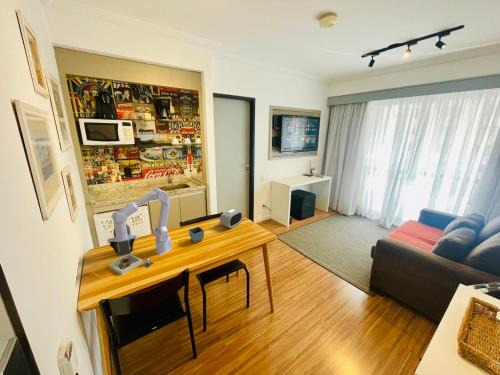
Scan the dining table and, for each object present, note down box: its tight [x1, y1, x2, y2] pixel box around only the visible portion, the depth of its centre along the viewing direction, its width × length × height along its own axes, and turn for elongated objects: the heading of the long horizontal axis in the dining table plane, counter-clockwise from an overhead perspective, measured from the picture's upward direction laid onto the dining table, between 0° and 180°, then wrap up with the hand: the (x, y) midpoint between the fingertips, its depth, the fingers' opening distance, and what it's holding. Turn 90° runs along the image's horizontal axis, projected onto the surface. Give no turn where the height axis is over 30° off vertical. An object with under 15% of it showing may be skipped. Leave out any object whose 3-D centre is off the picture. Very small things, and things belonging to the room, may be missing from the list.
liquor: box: [112, 209, 134, 257], centre depth 134 cm, size 9×9×30 cm
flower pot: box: [188, 226, 205, 244], centre depth 152 cm, size 9×9×9 cm
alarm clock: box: [219, 208, 244, 229], centre depth 179 cm, size 21×10×13 cm, turn 147°
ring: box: [119, 258, 132, 269], centre depth 123 cm, size 6×6×3 cm
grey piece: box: [141, 257, 155, 269], centre depth 125 cm, size 5×5×4 cm
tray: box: [108, 253, 143, 276], centre depth 124 cm, size 13×13×3 cm
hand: (124, 251), depth 122 cm, fingers open, 7 cm apart
